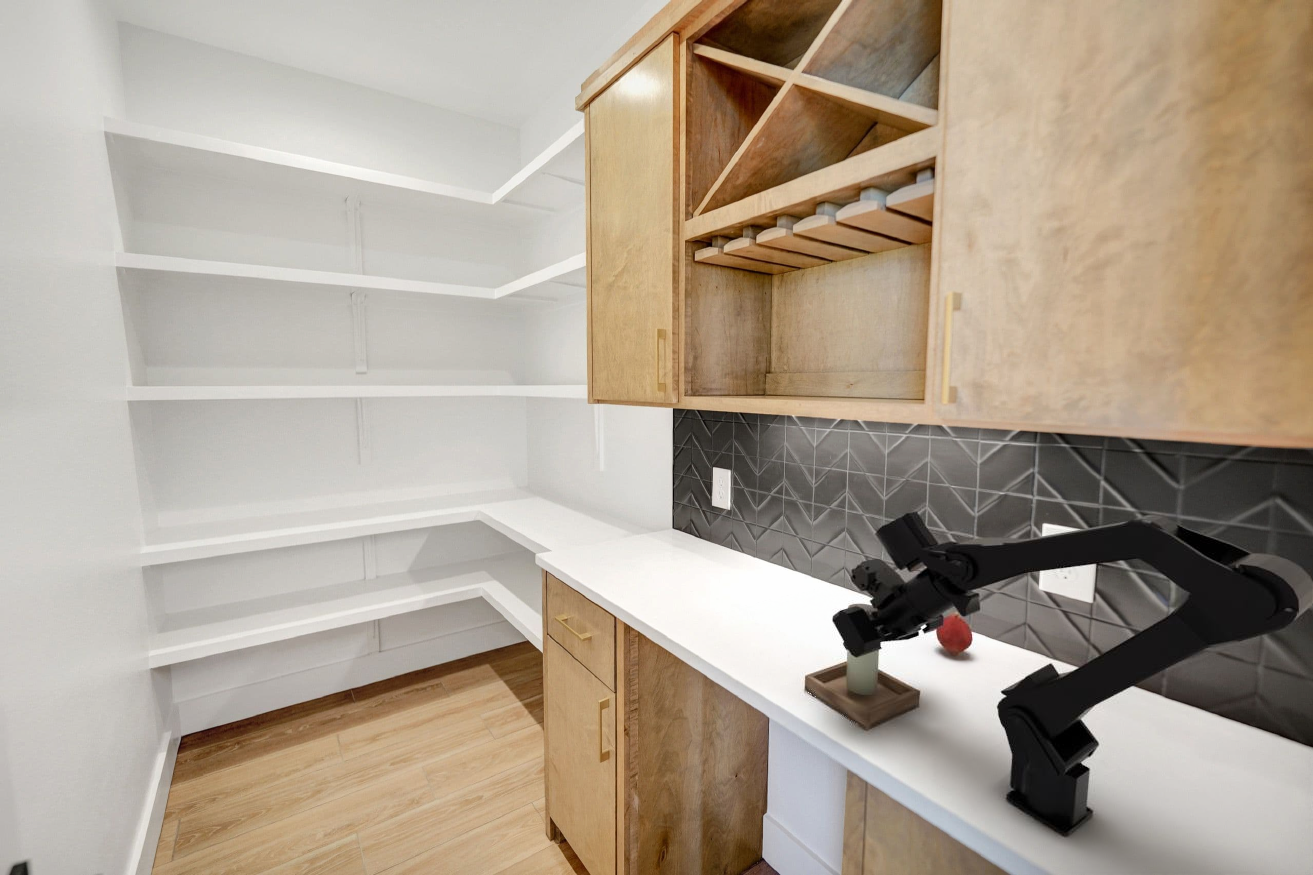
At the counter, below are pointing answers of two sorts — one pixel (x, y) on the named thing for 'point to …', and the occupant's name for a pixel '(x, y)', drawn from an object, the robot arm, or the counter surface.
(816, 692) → the walnut tray
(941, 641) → the onion
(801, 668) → the counter surface
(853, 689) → the spice jar
